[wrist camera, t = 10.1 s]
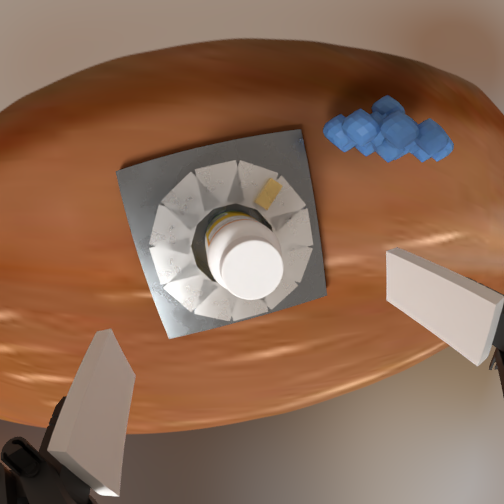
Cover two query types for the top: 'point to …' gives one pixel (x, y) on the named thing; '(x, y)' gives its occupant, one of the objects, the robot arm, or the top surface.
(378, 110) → the grapes
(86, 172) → the top surface
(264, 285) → the supplement bottle
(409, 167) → the top surface
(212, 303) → the hub plate
